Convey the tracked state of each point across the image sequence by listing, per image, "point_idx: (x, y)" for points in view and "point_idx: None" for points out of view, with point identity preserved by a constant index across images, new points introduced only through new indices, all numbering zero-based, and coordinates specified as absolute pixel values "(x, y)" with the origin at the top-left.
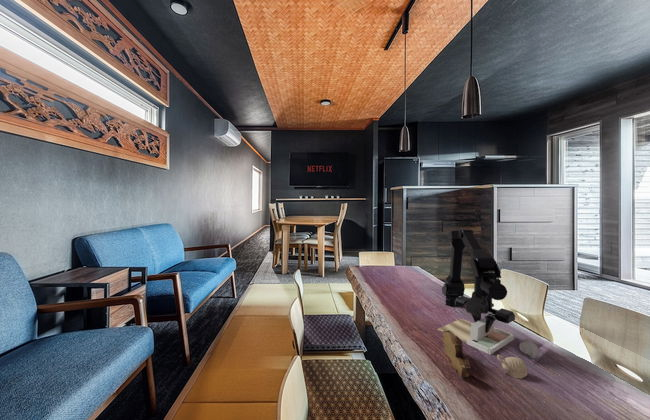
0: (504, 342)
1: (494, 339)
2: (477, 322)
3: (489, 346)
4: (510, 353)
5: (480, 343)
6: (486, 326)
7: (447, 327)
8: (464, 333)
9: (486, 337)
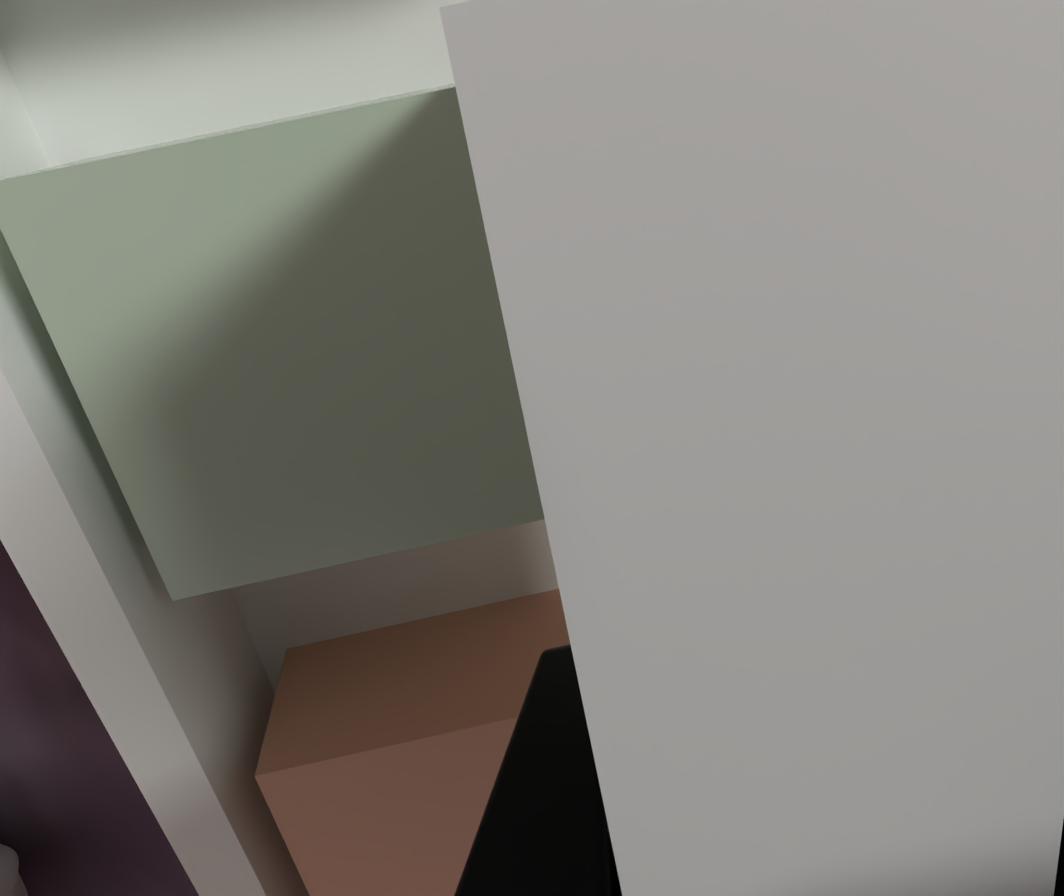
0: (146, 754)
1: (426, 686)
2: (990, 684)
3: (61, 171)
4: (37, 618)
5: (377, 100)
6: (561, 843)
7: None
8: None
9: (489, 525)
